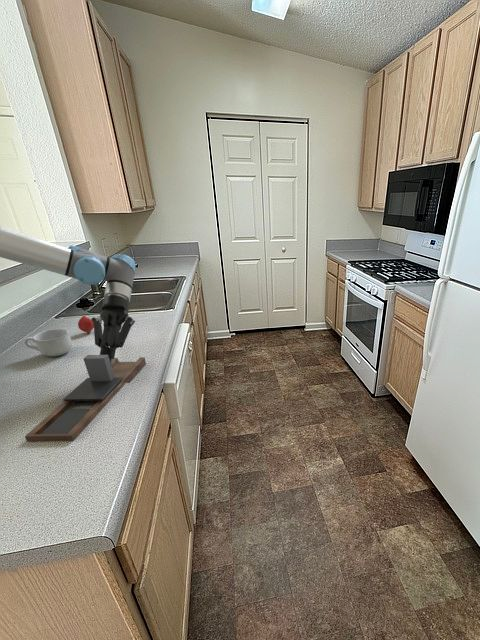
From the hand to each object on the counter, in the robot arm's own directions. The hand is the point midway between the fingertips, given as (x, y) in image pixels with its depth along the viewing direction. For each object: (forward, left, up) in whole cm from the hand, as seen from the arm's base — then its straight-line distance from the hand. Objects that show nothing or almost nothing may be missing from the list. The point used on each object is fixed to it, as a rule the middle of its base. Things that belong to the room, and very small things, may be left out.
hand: (104, 368), depth 101 cm
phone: (+16, -14, -5) cm, 22 cm away
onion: (-55, +6, -6) cm, 56 cm away
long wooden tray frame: (+5, -4, -6) cm, 9 cm away
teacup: (-40, -9, -6) cm, 41 cm away
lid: (+5, -5, -3) cm, 8 cm away
